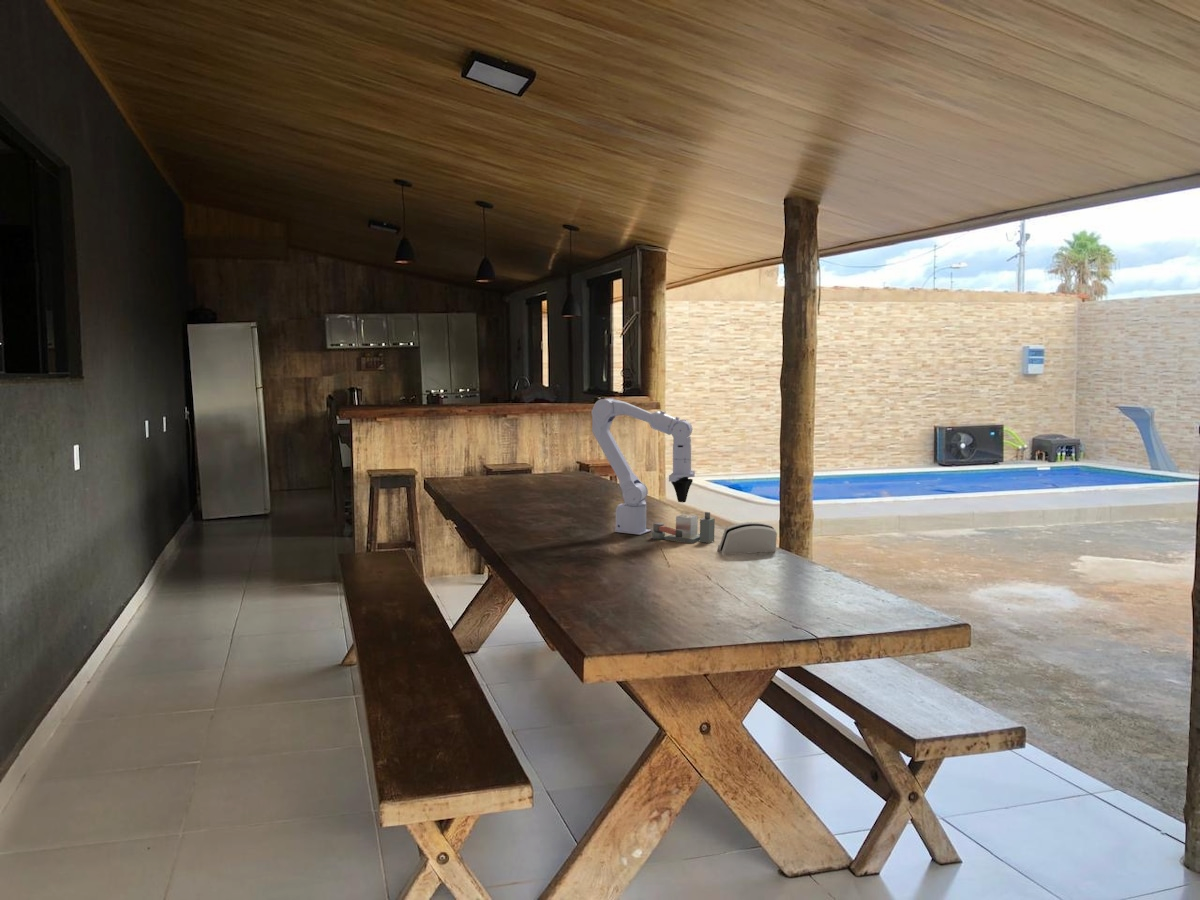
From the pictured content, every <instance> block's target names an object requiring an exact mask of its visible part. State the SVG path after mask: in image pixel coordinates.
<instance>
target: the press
mask: <svg viewBox="0 0 1200 900" xmlns="http://www.w3.org/2000/svg"><path fill="white" fill-rule="evenodd" d="M715 519H716V518H714V517H713V518H712V517H711V512H710V511H705V512H704V517H702V518H701V519H699V533H697V535H696V536H694V537H691V538H689V537H675V535H672V534H669V535H666V532H655V531H652V530H651V538H652V539H653V540H666V541H669V540H671V542H677V541H678V543H679V542H680V543H687V544H696V543H697V541H698V542H699V543H701V542H706V543H705V544H711V543H713V542H715V524H716V523H715ZM699 540H700V541H699ZM712 541H713V542H712ZM710 542H711V543H710Z"/></svg>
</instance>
